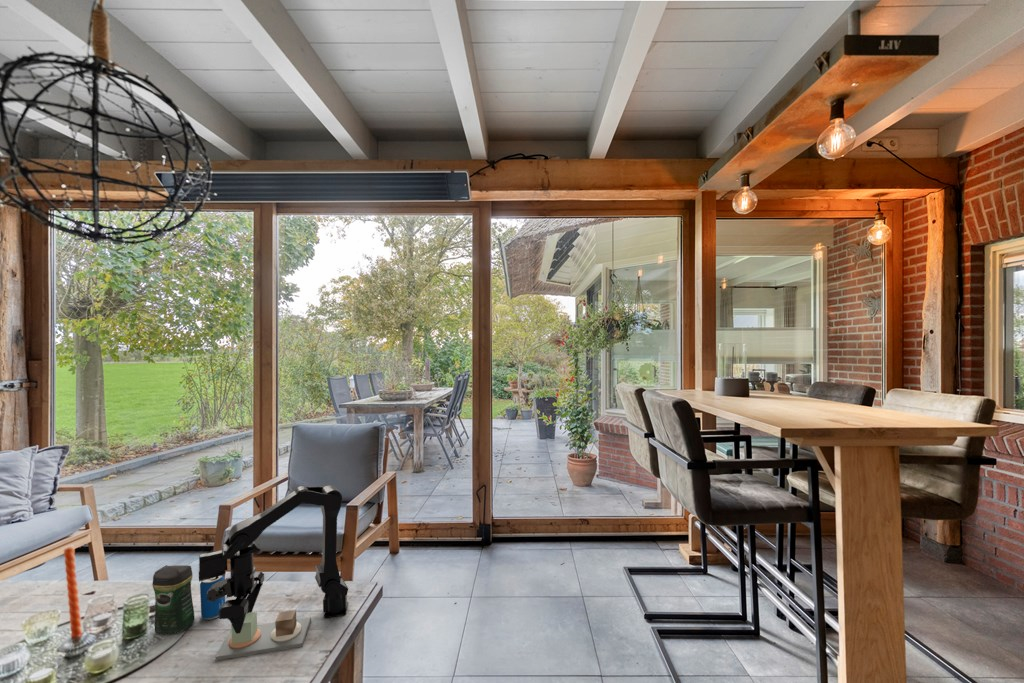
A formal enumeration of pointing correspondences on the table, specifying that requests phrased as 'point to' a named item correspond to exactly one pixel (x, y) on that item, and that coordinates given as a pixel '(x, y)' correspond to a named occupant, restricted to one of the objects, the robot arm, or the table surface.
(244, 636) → the sage block
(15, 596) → the table surface
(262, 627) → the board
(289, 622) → the walnut block
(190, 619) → the coffee jar
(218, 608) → the beverage can
